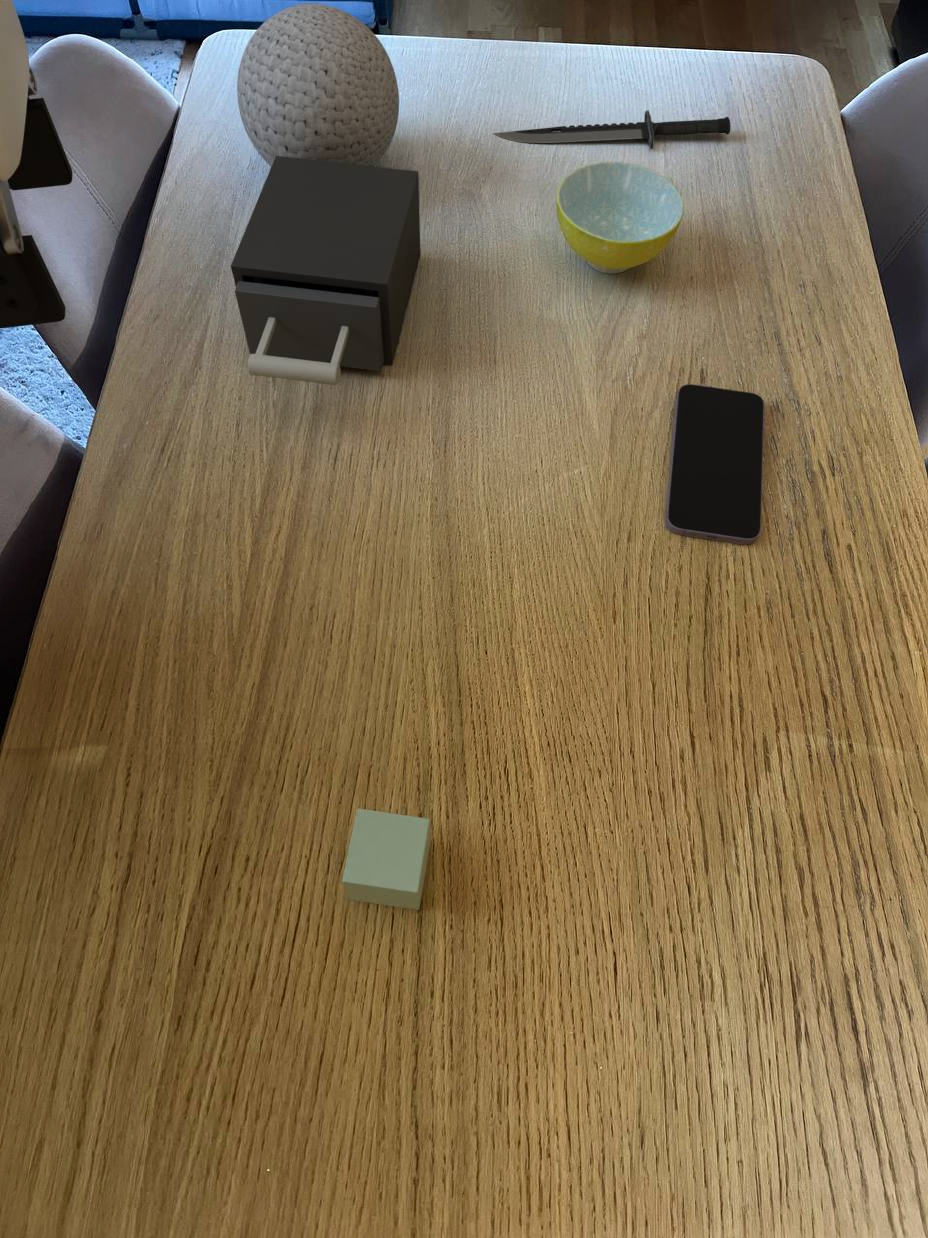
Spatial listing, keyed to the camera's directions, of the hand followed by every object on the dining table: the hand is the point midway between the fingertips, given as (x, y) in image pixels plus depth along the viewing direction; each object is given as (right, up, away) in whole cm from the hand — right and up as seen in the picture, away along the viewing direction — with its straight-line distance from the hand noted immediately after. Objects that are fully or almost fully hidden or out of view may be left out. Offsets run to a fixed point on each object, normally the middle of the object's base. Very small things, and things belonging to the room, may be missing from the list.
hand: (36, 248), depth 43 cm
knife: (+35, +33, +54) cm, 72 cm away
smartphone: (+40, -5, +31) cm, 51 cm away
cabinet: (+9, +12, +40) cm, 42 cm away
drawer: (+8, +8, +36) cm, 38 cm away
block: (+15, -33, +14) cm, 39 cm away
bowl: (+34, +17, +44) cm, 58 cm away
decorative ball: (+6, +27, +49) cm, 57 cm away
